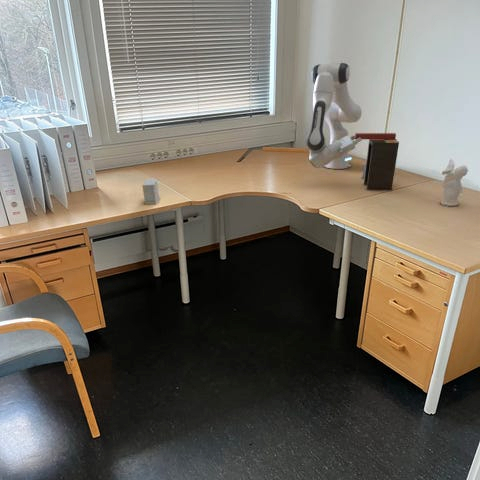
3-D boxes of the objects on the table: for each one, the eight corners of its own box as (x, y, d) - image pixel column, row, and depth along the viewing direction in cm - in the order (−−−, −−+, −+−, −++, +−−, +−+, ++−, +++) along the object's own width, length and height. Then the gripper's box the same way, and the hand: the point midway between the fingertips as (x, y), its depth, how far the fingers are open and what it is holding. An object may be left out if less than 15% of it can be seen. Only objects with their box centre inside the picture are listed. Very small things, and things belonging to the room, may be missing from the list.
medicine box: (376, 179, 293) (378, 164, 288) (373, 180, 290) (375, 166, 285) (365, 176, 297) (367, 162, 293) (361, 178, 295) (363, 164, 290)
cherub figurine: (463, 206, 248) (473, 162, 237) (442, 208, 245) (451, 165, 234) (448, 199, 258) (457, 157, 247) (428, 201, 255) (436, 159, 244)
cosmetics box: (148, 198, 267) (145, 179, 262) (159, 198, 267) (157, 179, 262) (144, 204, 258) (141, 184, 253) (156, 204, 258) (154, 184, 253)
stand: (363, 183, 285) (369, 137, 271) (387, 184, 284) (394, 137, 270) (366, 189, 274) (373, 142, 261) (391, 190, 274) (399, 142, 260)
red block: (354, 138, 270) (355, 133, 268) (394, 138, 269) (395, 133, 267) (355, 139, 268) (355, 134, 266) (395, 139, 266) (396, 134, 265)
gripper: (336, 148, 262) (360, 135, 258) (333, 140, 280) (355, 128, 275) (341, 159, 265) (364, 146, 261) (337, 150, 282) (359, 138, 278)
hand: (359, 136), depth 268 cm, fingers open, 8 cm apart
